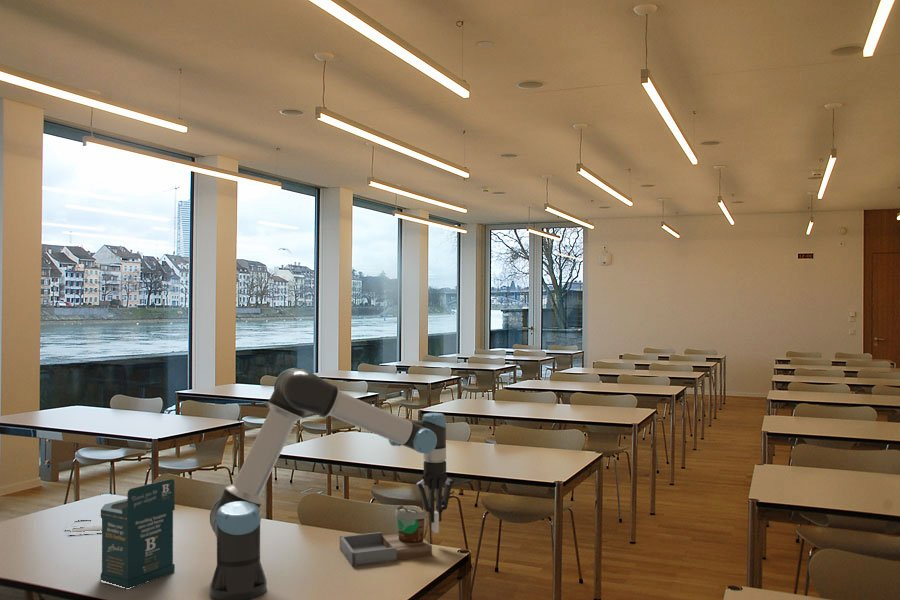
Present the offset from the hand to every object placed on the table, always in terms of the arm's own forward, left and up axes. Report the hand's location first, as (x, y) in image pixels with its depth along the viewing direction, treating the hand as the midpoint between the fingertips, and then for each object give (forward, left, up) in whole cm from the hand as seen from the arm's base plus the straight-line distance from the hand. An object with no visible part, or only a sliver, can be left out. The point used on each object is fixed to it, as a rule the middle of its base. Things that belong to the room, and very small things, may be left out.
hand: (435, 531), depth 242 cm
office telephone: (+68, +107, -6) cm, 127 cm away
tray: (0, +23, -5) cm, 24 cm away
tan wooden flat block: (0, +10, -5) cm, 11 cm away
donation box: (+7, +92, -5) cm, 92 cm away
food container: (0, +10, -2) cm, 10 cm away
